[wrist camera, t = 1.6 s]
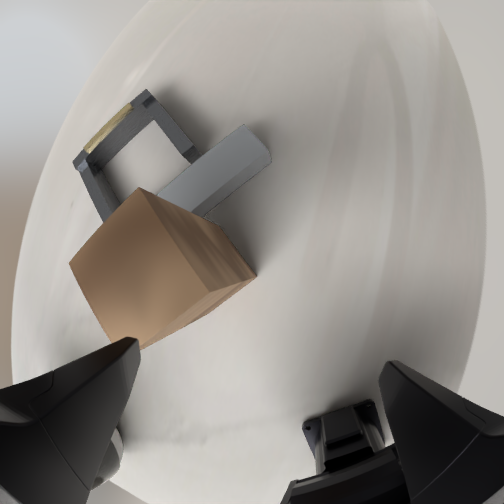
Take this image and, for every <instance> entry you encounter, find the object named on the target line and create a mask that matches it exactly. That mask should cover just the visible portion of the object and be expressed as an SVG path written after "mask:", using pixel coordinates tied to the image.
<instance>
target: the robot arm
mask: <svg viewBox="0 0 504 504" xmlns="http://www.w3.org/2000/svg"><path fill="white" fill-rule="evenodd" d="M140 360H141V356H140V346H139V340H138V339H137V338H133V337H129V336H127V337H124V338H122V339H120V340H118V341H116V342H114V343H112V344H109V345H107V346H105V347H103V348H101V349H99V350H97V351H94V352H92V353H90V354H88V355H86V356H83V357H81V358H79V359H77V360H75V361H72V362H70V363H68V364H66V365H64V366H61V367H59V368H57V369H55V370H54V371H50V372H48V373H46V374H43V375H41V376H38V377H36V378H33V379H31V380H28V381H25V382H22V383H19V384H16V385H12V386H10V387H6V388H3V389H0V504H86V502H87V499H88V496H89V493H90V492H89V491H90V490H91V488H92V485H93V482H94V480H95V477H96V475H97V472H98V470H99V467H100V464H101V462H102V460H103V457H104V455H105V452H106V450H107V447H108V445H109V443H110V440H111V438H112V435H113V433H114V431H115V428H116V426H117V424H118V421H119V419H120V417H121V415H122V412H123V410H124V408H125V406H126V403H127V401H128V399H129V396H130V393H131V390H132V387H133V384H134V380H135V377H136V374H137V371H138V368H139V365H140ZM379 387H380V391H381V395H382V400H383V404H384V409H385V413H386V417H387V420H388V423H389V426H390V429H391V432H392V435H393V439H394V442H395V443H394V444H392V445H390V446H388V447H385V442H384V438H383V434H382V429H381V425H380V421H379V417H378V413H377V410H376V406H375V403H374V401H373V400H372V399H368V400H365V401H363V402H360V403H358V404H356V405H353V406H348V407H345V408H343V409H340V410H337V411H334V412H332V413H329V414H326V415H323V416H322V417H319V418H316V419H313V420H310V421H307V422H304V423H303V425H302V430H303V432H304V435H305V437H306V439H307V442H308V444H309V446H310V449H311V451H312V453H313V455H314V458H315V460H316V475H315V476H312V477H309V478H305V479H302V480H298V479H297V480H294V481H291V482H290V484H289V486H288V489H287V491H286V493H285V495H284V497H283V499H282V501H281V503H280V504H504V417H503V416H501V415H499V414H496V413H494V412H491V411H489V410H487V409H485V408H483V407H481V406H479V405H476V404H475V403H473V402H471V401H469V400H467V399H465V398H462V397H461V396H460V395H458V394H456V393H454V392H452V391H451V390H449V389H447V388H445V387H443V386H442V385H440V384H438V383H436V382H434V381H433V380H431V379H429V378H427V377H425V376H424V375H422V374H420V373H418V372H417V371H415V370H413V369H411V368H410V367H408V366H406V365H404V364H403V363H401V362H399V361H397V360H391V361H387V362H386V364H385V366H384V368H383V370H382V372H381V374H380V376H379ZM368 404H371V405H370V406H367V405H368ZM306 426H310V427H309V428H306Z"/></svg>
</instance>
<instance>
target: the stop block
mask: <svg viewBox="0 0 504 504" xmlns="http://www.w3.org/2000/svg"><path fill="white" fill-rule="evenodd" d="M69 265H70V267H71V270H72V272H73V274H74V276H75V278H76V280H77V282H78V284H79V286H80V288H81V290H82V292H83V294H84V296H85V298H86V300H87V302H88V303H89V305H90V307H91V309H92V311H93V313H94V314H95V316H96V318H97V320H98V321H99V323H100V325H101V326H102V328H103V330H104V332H105V333H106V335H107V336H108V338H109V340H110V341H111V343H114V342H116V341H118V340H120V339H122V338H124V337H127V336H129V337H133V338H137V339H138V340H139V346H140V350H142V349H144V348H146V347H147V346H149V345H151V344H153V343H155V342H157V341H159V340H161V339H163V338H164V337H166V336H168V335H170V334H172V333H174V332H176V331H177V330H179V329H181V328H183V327H185V326H187V325H188V324H190V323H192V322H194V321H196V320H198V319H199V318H201V317H203V316H205V315H207V314H208V313H210V312H211V311H212V310H214V309H215V308H216V307H218V306H219V305H220V304H222V303H223V302H224V301H226V300H227V299H228V298H230V297H231V296H232V295H234V294H235V293H236V292H238V291H239V290H240V289H242V288H243V287H244V286H246V285H247V284H248V283H250V282H251V281H252V280H254V279H255V278H256V277H257V276H256V274H255V273H254V272H253V271H252V269H251V268H250V267H249V265H248V264H247V263H246V261H245V260H244V259H243V257H242V256H241V255H240V253H239V252H238V251H237V249H236V248H235V247H234V245H233V244H232V243H231V241H230V240H229V239H228V237H227V236H226V235H225V233H224V232H223V231H222V229H221V228H220V227H219V226H218V225H216V224H214V223H212V222H210V221H208V220H206V219H203V218H201V217H199V216H197V215H195V214H193V213H191V212H189V211H187V210H185V209H183V208H181V207H179V206H177V205H175V204H173V203H171V202H169V201H166V200H164V199H162V198H160V197H158V196H156V195H154V194H152V193H150V192H148V191H146V190H144V189H142V188H140V187H139V188H137V189H136V190H135V191H134V192H133V193H132V194H131V195H130V196H129V197H128V198H127V199H126V200H125V201H124V202H123V203H122V204H121V205H120V206H119V207H118V208H117V209H116V210H115V211H114V212H113V213H112V215H111V216H110V217H109V218H108V219H107V220H106V221H105V222H104V223H103V224H102V225H101V226H100V227H99V228H98V230H97V231H96V232H95V233H94V234H93V235H92V236H91V237H90V238H89V240H88V241H87V242H86V243H85V244H84V245H83V247H82V248H81V249H80V250H79V251H78V252H77V254H76V255H75V256H74V257H73V258H72V260H71V261H70V262H69Z"/></svg>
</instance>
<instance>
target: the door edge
mask: <svg viewBox="0 0 504 504" xmlns="http://www.w3.org/2000/svg"><path fill="white" fill-rule="evenodd" d="M271 162H272V161H271V157H270V153H269V150H268V149H267V148H266V147H265V146H264V144H263V143H262V142H261V141H260V140H259V139H258V138H257V137H256V136H255V135H254V134H253V133H252V132H251V131H250V130H249V129H248V128H247V126H246V125H245V124H243V125H242V126H241V127H239V128H238V129H237V130H235V131H234V132H233V133H231V134H230V135H228V136H227V137H226V138H225V139H223V140H222V141H221V142H219V143H218V144H217V145H215V146H214V147H213V148H212V149H210V150H209V151H208V152H207V153H205V154H204V155H203V156H202V157H200V158H199V159H198V160H197V161H195V162H194V163H193V164H192V165H191V166H189V167H188V168H187V169H186V170H185V171H183V172H182V173H181V174H180V175H179V176H177V177H176V178H175V179H174V180H173V181H172V182H171V183H169V184H168V185H167V186H166V187H165V188H164V189H163V190H162V191H160V192H159V193H158V194H157V195H156V196H158V197H160V198H162V199H164V200H166V201H169V202H171V203H173V204H175V205H177V206H179V207H181V208H183V209H185V210H187V211H189V212H191V213H193V214H195V215H197V216H199V217H201V218H202V217H203V216H204V215H205V214H206V213H208V212H209V211H210V210H211V209H213V208H214V207H215V206H216V205H217V204H219V203H220V202H221V201H222V200H224V199H225V198H226V197H227V196H229V195H230V194H231V193H232V192H234V191H235V190H236V189H237V188H239V187H240V186H241V185H243V184H244V183H245V182H246V181H248V180H249V179H250V178H252V177H253V176H254V175H255V174H257V173H258V172H259V171H261V170H262V169H263V168H265V167H266V166H267V165H269V164H270V163H271Z"/></svg>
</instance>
